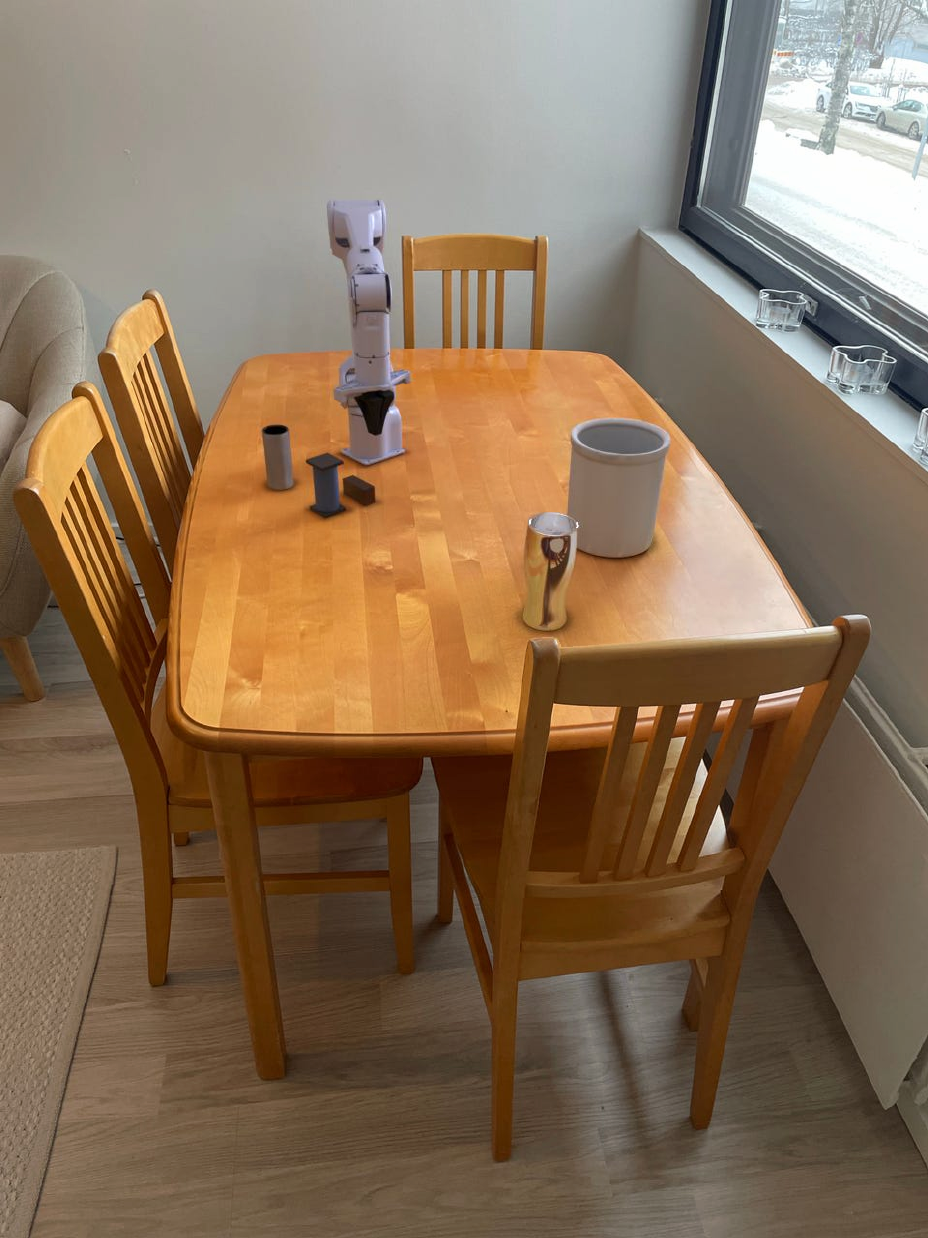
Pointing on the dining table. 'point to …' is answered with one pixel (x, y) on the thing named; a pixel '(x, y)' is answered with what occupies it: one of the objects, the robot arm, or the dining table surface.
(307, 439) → the dining table surface
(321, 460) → the spool
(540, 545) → the beer glass
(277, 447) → the grey hollow cylinder
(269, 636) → the dining table surface
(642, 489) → the utensil holder
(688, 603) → the dining table surface
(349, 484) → the block
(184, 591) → the dining table surface
